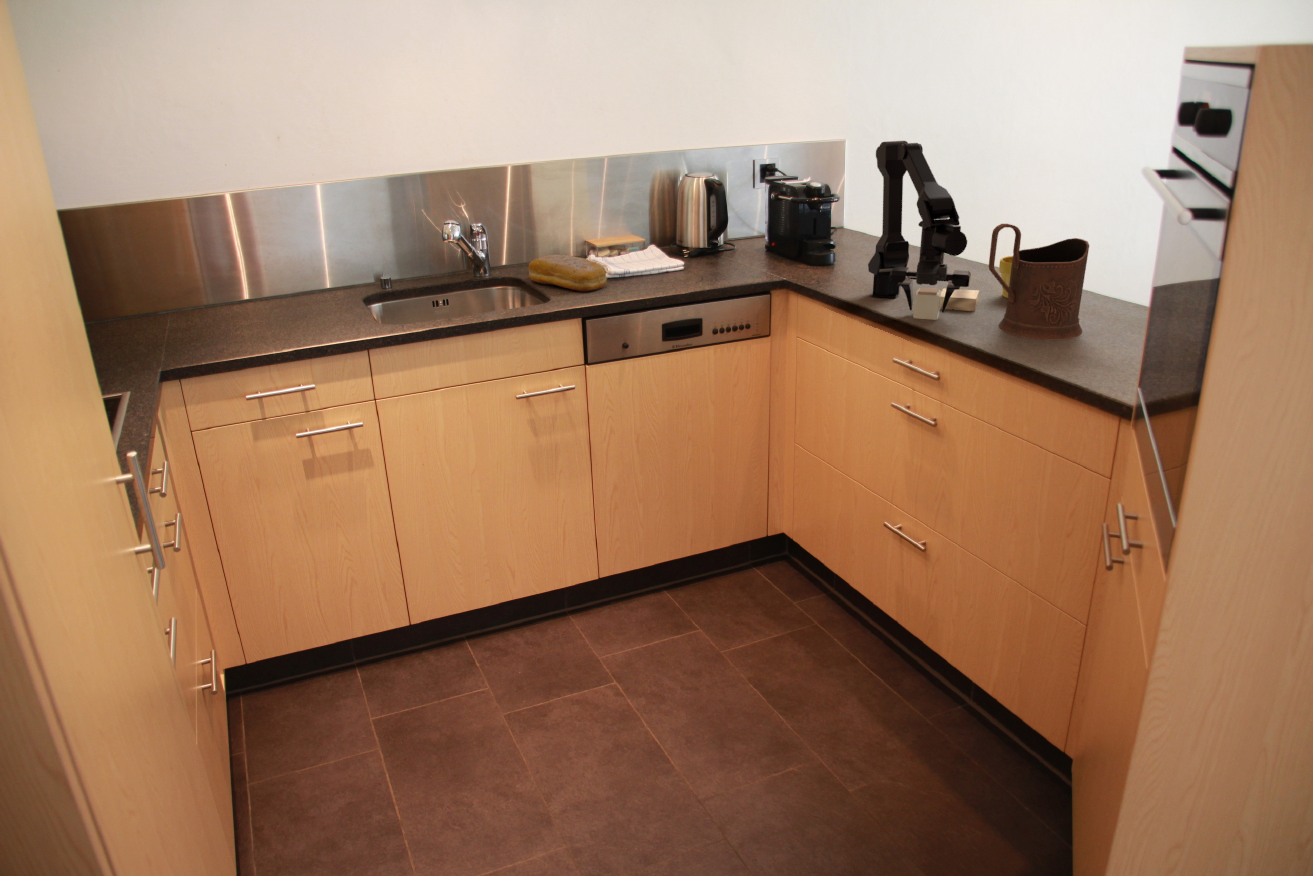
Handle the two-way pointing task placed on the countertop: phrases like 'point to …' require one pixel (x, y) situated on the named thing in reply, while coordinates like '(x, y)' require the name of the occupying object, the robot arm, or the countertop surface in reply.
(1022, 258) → the cup holder
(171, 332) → the countertop surface
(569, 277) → the bread
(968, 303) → the beech block
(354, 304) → the countertop surface
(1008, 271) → the plant pot
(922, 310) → the cream lidded box
